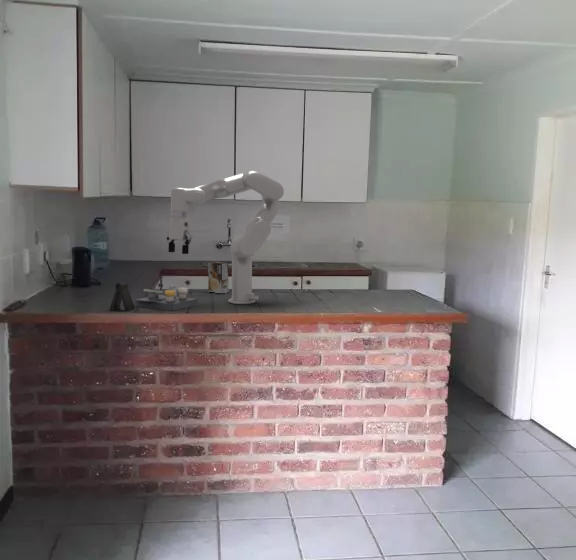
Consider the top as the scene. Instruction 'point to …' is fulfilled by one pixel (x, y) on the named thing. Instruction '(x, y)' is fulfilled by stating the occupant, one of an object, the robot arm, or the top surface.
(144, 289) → the rocker paddle
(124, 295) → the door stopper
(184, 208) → the robot arm
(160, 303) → the console
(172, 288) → the slider knob
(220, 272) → the coffee box
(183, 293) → the ivory button
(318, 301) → the top surface
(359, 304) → the top surface
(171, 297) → the amber button
